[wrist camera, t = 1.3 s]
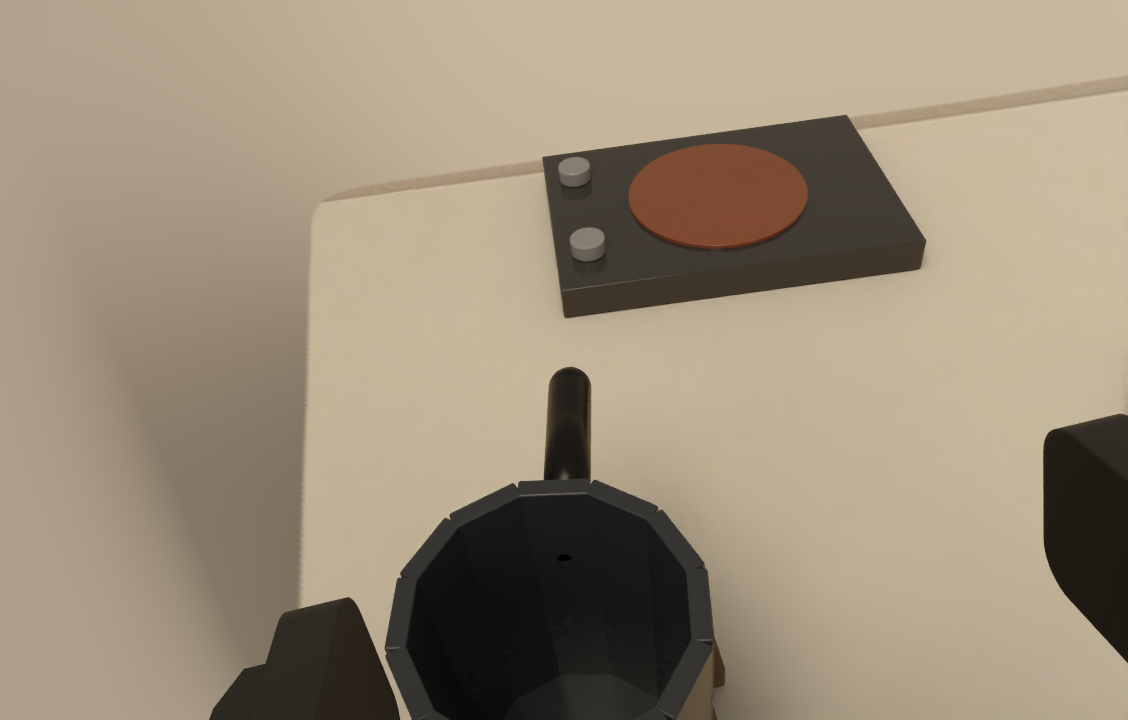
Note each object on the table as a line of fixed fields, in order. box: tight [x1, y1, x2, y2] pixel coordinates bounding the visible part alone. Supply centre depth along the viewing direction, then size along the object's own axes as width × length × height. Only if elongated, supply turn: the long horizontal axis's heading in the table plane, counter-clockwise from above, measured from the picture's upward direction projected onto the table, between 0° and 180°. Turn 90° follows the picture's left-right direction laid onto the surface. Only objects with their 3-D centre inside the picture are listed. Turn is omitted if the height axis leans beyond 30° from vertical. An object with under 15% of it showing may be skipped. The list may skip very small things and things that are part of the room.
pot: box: [385, 367, 714, 720], centre depth 23 cm, size 12×6×9 cm, turn 178°
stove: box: [542, 115, 926, 318], centre depth 43 cm, size 16×11×2 cm
